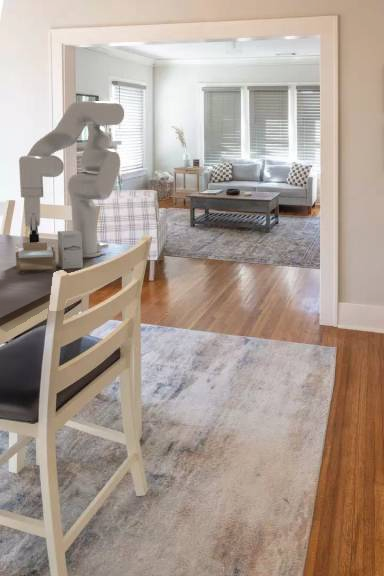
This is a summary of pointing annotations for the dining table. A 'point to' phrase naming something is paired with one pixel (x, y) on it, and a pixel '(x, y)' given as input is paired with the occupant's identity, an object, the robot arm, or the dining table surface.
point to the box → (35, 263)
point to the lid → (35, 250)
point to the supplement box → (70, 249)
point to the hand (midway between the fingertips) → (34, 245)
